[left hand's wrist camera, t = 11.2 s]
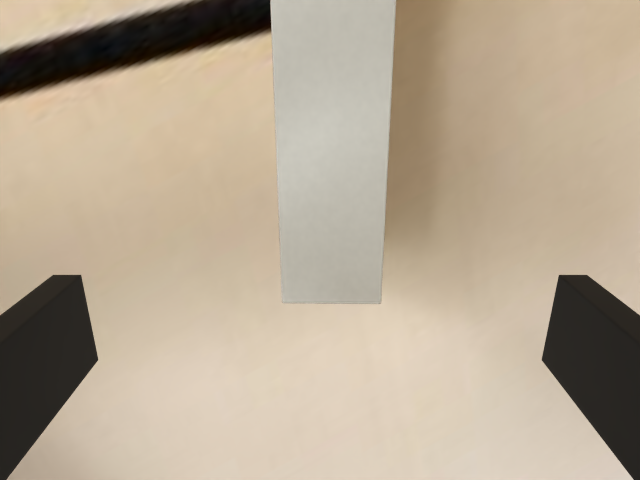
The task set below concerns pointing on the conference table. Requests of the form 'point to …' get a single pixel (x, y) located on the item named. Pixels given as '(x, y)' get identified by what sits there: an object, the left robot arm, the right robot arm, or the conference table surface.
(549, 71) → the conference table surface
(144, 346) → the conference table surface
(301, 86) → the bar
